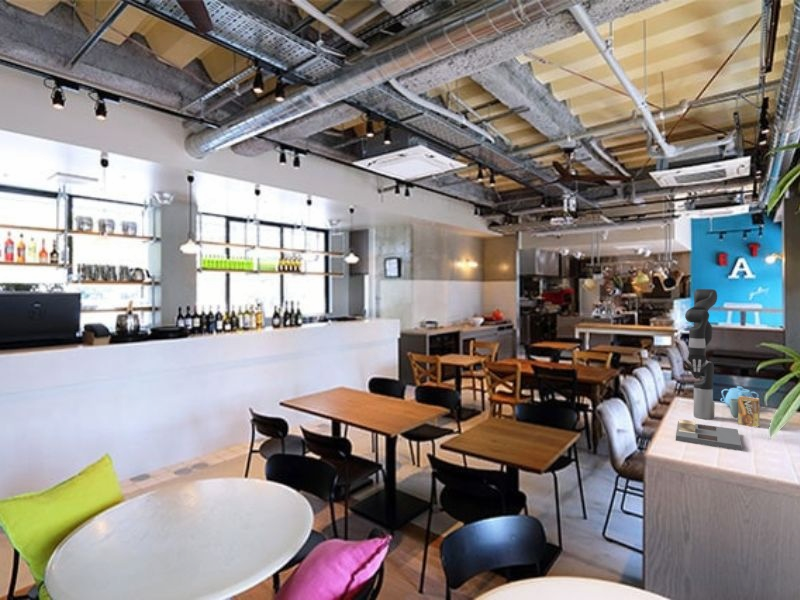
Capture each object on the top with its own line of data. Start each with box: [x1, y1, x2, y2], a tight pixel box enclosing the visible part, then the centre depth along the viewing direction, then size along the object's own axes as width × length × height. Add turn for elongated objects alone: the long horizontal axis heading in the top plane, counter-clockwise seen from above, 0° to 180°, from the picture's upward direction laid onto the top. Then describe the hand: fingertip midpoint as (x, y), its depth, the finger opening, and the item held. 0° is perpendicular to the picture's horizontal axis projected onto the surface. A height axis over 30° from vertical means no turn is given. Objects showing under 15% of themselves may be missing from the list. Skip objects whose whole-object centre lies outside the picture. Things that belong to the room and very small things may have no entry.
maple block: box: [678, 418, 696, 432], centre depth 228 cm, size 7×7×4 cm
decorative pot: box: [720, 385, 760, 408], centre depth 275 cm, size 16×16×14 cm
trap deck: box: [675, 420, 743, 451], centre depth 223 cm, size 26×28×2 cm
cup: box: [729, 399, 738, 419], centre depth 256 cm, size 8×8×10 cm
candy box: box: [737, 396, 761, 428], centre depth 241 cm, size 9×4×15 cm, turn 44°
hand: (696, 378), depth 237 cm, fingers closed
